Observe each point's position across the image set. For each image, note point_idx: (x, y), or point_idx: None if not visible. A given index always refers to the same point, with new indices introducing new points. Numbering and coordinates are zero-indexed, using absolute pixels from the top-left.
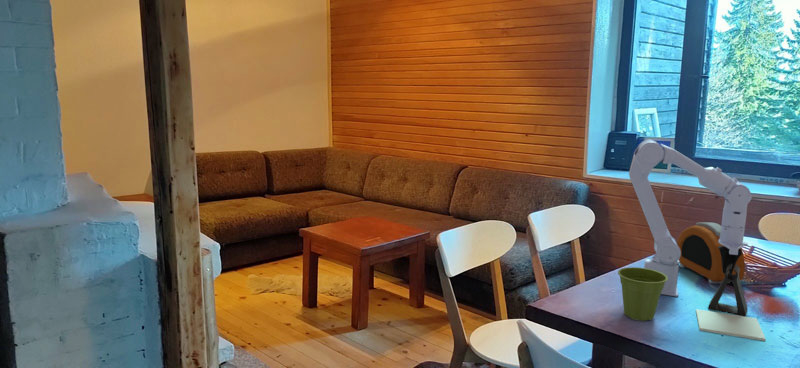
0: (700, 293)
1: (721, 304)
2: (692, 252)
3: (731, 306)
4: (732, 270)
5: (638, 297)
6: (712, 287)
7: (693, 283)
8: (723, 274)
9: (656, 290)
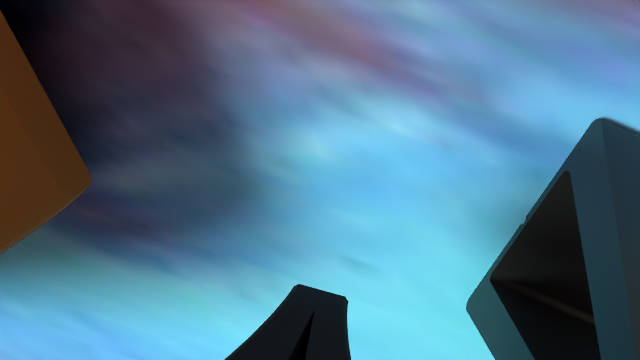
0: None
1: (523, 268)
2: None
3: (556, 218)
4: (346, 326)
5: None
6: (147, 184)
7: (120, 267)
8: (48, 159)
9: None
